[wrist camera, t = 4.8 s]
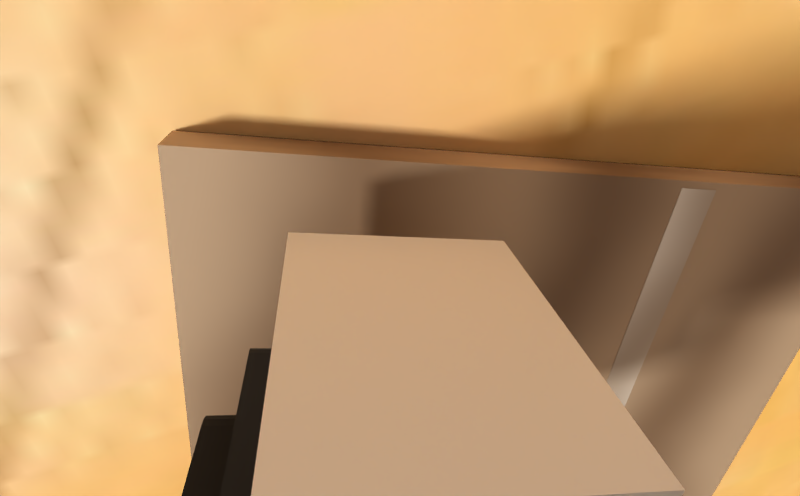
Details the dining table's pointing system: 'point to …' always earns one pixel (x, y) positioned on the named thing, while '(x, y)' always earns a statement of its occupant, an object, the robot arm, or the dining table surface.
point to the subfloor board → (534, 249)
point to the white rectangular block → (436, 381)
